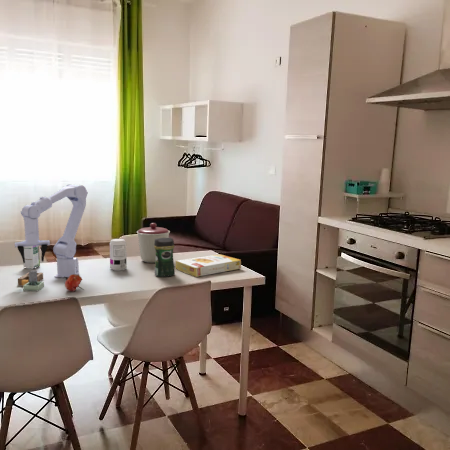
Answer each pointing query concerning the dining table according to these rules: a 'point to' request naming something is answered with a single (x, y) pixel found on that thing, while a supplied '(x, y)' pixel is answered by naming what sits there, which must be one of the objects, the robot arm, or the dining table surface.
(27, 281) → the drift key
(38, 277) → the socket block
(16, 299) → the dining table surface
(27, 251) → the syrup box
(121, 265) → the supplement can
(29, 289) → the tray
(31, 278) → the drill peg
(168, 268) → the coffee jar
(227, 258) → the cereal box
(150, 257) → the canister
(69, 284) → the pomegranate
